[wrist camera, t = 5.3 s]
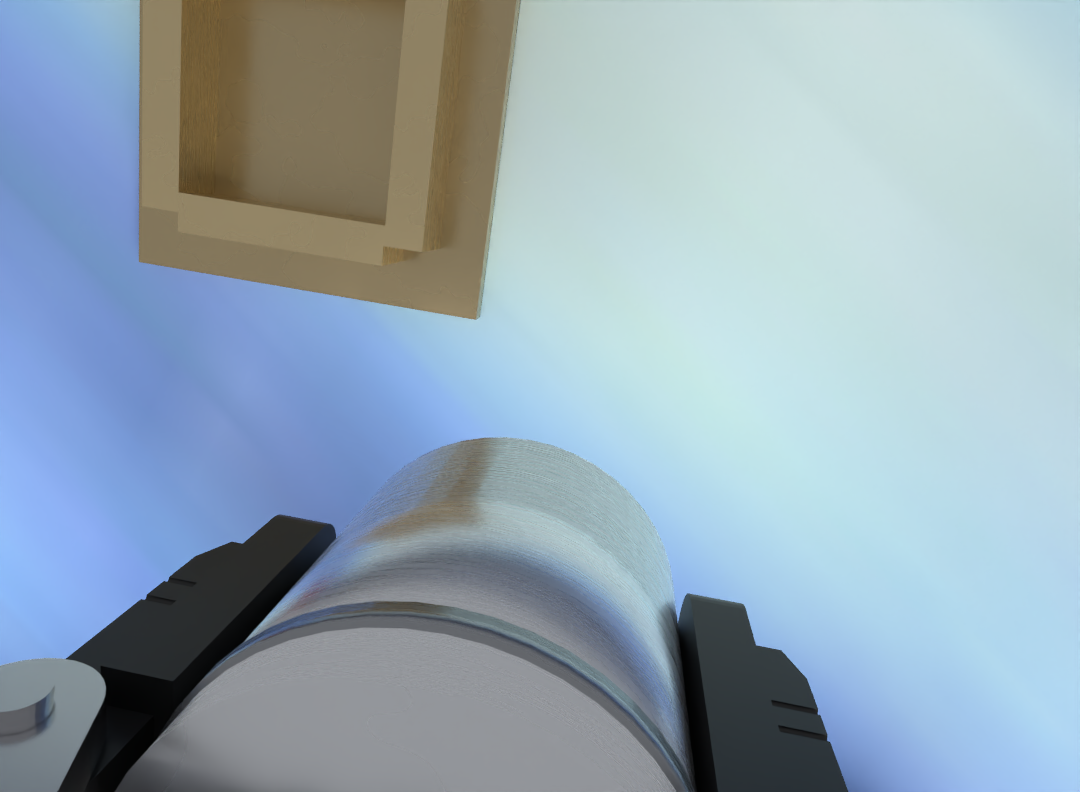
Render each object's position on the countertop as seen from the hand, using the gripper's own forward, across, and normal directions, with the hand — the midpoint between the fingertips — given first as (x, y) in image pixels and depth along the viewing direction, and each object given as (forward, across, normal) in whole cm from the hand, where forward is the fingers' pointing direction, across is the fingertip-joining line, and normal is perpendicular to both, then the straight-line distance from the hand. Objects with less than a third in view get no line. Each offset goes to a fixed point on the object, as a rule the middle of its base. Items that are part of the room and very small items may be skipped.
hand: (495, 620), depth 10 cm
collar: (+16, +10, -7) cm, 20 cm away
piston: (+1, 0, 0) cm, 1 cm away
